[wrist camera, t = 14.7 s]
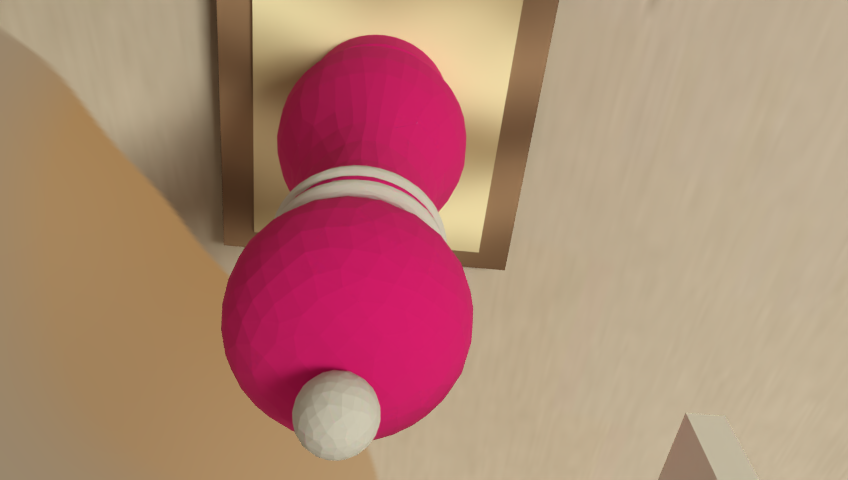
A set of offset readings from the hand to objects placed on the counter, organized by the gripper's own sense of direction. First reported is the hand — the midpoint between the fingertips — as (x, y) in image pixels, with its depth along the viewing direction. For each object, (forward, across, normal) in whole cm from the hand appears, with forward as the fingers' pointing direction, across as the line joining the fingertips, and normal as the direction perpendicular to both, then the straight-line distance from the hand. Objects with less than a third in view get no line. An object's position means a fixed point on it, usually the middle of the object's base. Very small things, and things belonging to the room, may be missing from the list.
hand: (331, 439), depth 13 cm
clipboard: (+21, 0, -1) cm, 21 cm away
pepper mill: (+20, 0, -1) cm, 20 cm away
